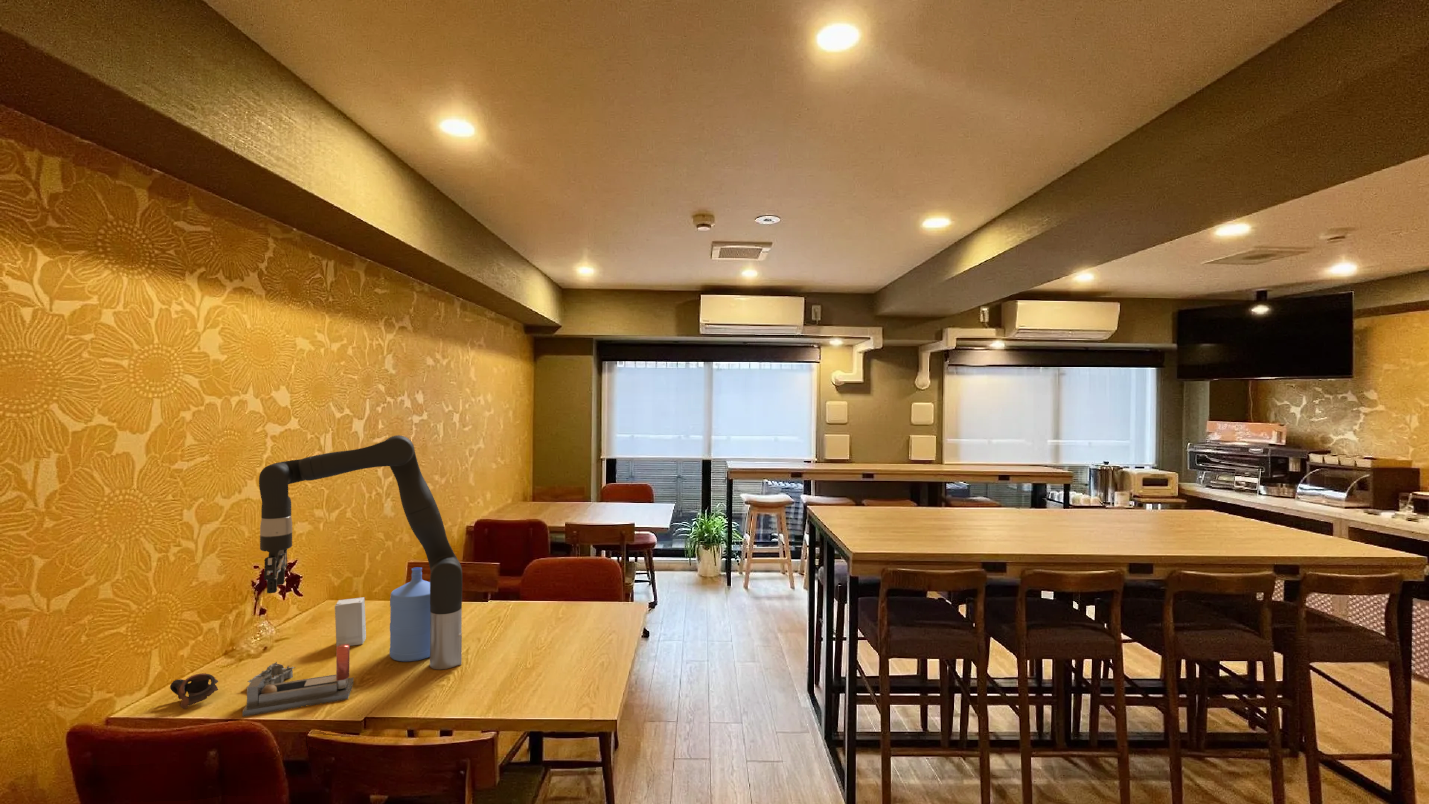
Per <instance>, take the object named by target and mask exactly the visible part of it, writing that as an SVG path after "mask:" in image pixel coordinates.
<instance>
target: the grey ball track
mask: <svg viewBox="0 0 1429 804" xmlns="http://www.w3.org/2000/svg"><path fill="white" fill-rule="evenodd" d="M330 676H336V674H330V675H325V676H324V675H323V676H317V677H310V678H305V679H304V678H303V679H296V680H291V681H290V680H288V681H284V682H283V683H276V684H269V685H274V686H276V688H277V692H273V693H267V694H261V691H262V689H263V688H264V677H259V678H254V677H252V679H253V680H252V681H251V683H249V684H248V685H247V687H246V705H245V707H244V708H243V709H242V717H249V716H255V715H261V714H267V713H273V712H279V711H280V712H281V711H285V710H292V709H296V708H297V707H298V708H302V707H301V706H304V707H307V706H306V705H310V706H315V704H316V705H321V704H320V703H322V704H327V703H326V702H328V703H333V702H339V701H345V699H347V700H349V697H350V694H351V692H352V689H353V685H354V682H355V681H354V677H348V683H347V686H346V688H343V689H337V683H331V684H325V685H318V686H312V687H305V688H304V685H305V683H306V681H307V680H310V679H317V678H323V677H330ZM266 686H267V685H266ZM291 708H292V709H291Z"/></svg>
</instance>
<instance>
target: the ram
mask: <svg viewBox="0 0 1429 804" xmlns="http://www.w3.org/2000/svg"><path fill="white" fill-rule="evenodd" d="M350 653H351V652H350V645H349V644H341V645H338V646H337V647H336V662H335V663H336V667H335V668H336V669H335V671H336V672H335V673H336V674H335V675H336V676H330V677H323V676H322V677H323V678H317V679H310V680H307V681H306V683H305V685H304V688H305V687H312V686H318V685H325V684H331V683H337V689H343V688H346V686H347V683H348V678H350V659H351V658H350Z"/></svg>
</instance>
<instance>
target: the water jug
mask: <svg viewBox="0 0 1429 804" xmlns="http://www.w3.org/2000/svg"><path fill="white" fill-rule="evenodd" d="M422 571H423V567H419V566H417V567H416V566H415V567H413V568H411V579H410V581H409V582H406V583H404V584H403V585H401V586H399V587H397V588H395V589H393V590H392V591H391V593H390V598H389V607H390V618H389V619H390V623H389V634H390V635H389V640H390V641H389V642H390V643H389V657H390V658H391V659H392V660H394V661H397V662H406V663H407V662H417V661H421V660H425V659H428V658H430V581H427V580H424V579H423V572H422Z"/></svg>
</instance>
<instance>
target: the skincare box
mask: <svg viewBox="0 0 1429 804" xmlns="http://www.w3.org/2000/svg"><path fill="white" fill-rule="evenodd" d="M365 602H366V599H365V597H356V598H346V599H338V600H337V602H336V604H334V605H335V606H334V618H335V641H336V642H335V647H336V648H337V646H338V645H341V644H349V645H350V646H357V645H358V646H359V645H363V644H364V643H365V641H366V640H367V639H366V638H367V631H366V630H367V628H366V605H365Z"/></svg>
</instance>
